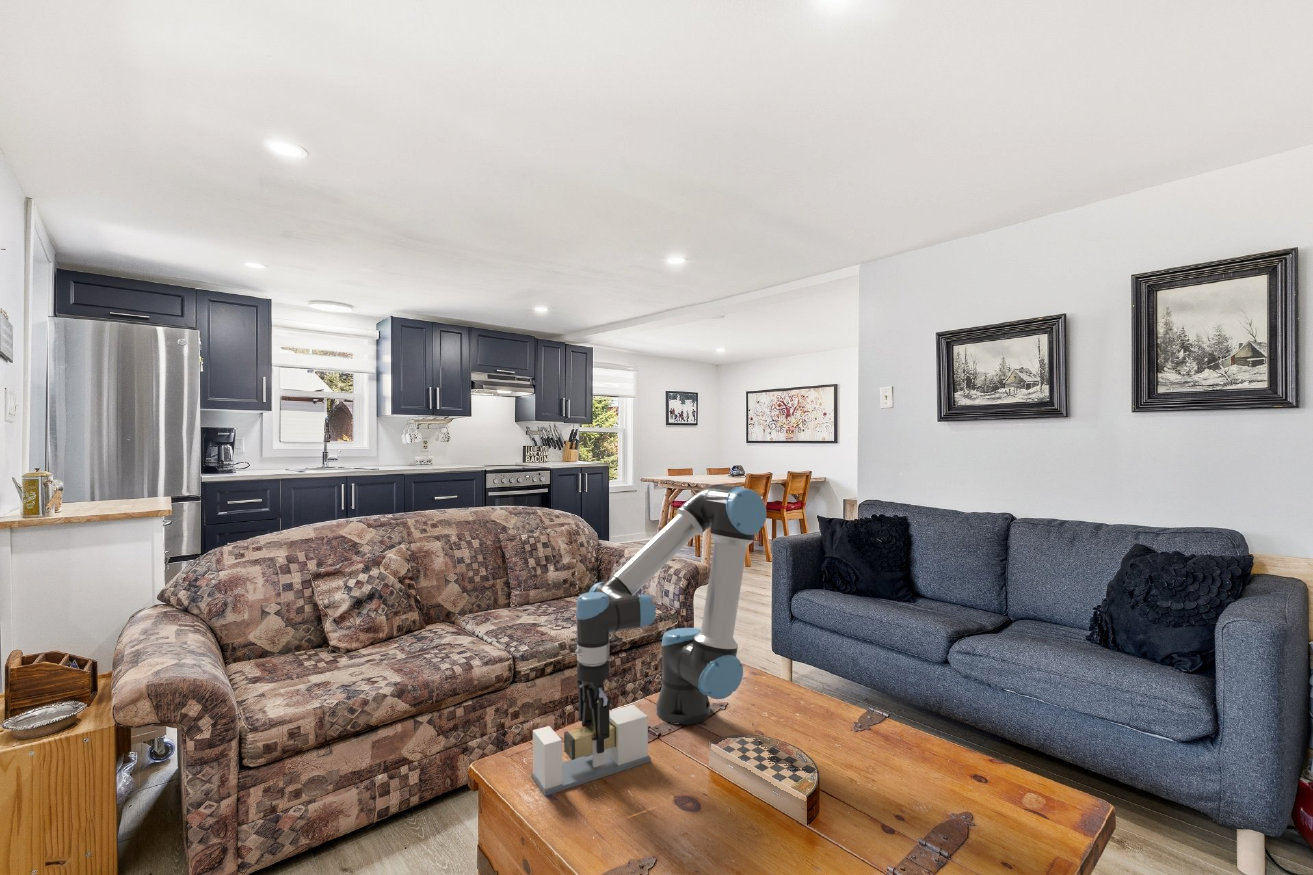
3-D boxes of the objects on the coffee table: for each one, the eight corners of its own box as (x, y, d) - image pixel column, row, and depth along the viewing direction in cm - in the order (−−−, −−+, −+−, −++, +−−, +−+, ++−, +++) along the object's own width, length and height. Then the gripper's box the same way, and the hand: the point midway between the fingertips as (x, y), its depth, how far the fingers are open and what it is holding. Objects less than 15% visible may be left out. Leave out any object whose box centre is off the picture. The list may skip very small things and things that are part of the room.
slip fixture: (632, 744, 154) (632, 702, 154) (650, 761, 146) (650, 716, 146) (531, 775, 140) (530, 729, 140) (545, 795, 132) (544, 746, 132)
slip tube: (632, 731, 151) (632, 713, 151) (641, 738, 147) (641, 720, 147) (564, 751, 142) (564, 731, 142) (571, 759, 138) (571, 740, 138)
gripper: (563, 652, 149) (564, 747, 149) (594, 676, 134) (595, 782, 134) (591, 646, 153) (592, 739, 153) (624, 669, 137) (625, 772, 138)
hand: (593, 759), depth 143 cm, fingers closed on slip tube, 4 cm apart
